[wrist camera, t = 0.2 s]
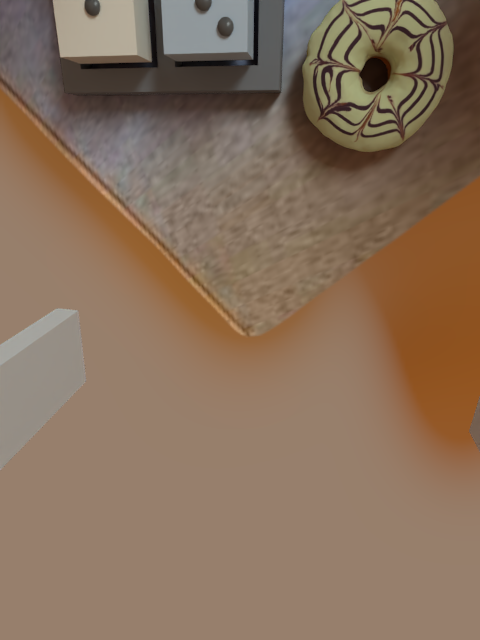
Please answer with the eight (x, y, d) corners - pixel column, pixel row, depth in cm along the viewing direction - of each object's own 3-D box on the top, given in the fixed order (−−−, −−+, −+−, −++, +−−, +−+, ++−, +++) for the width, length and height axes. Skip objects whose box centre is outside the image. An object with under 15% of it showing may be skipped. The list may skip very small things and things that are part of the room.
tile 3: (172, -35, 31) (157, -53, 28) (254, -40, 30) (247, -59, 27) (176, 61, 33) (163, 53, 31) (253, 59, 33) (246, 51, 30)
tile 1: (69, -29, 32) (45, -45, 29) (145, -33, 31) (128, -51, 29) (80, 63, 35) (58, 56, 32) (151, 62, 34) (136, 54, 31)
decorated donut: (289, 135, 37) (286, 134, 33) (324, -18, 32) (325, -37, 29) (411, 162, 36) (421, 164, 32) (464, 10, 32) (482, -6, 28)
